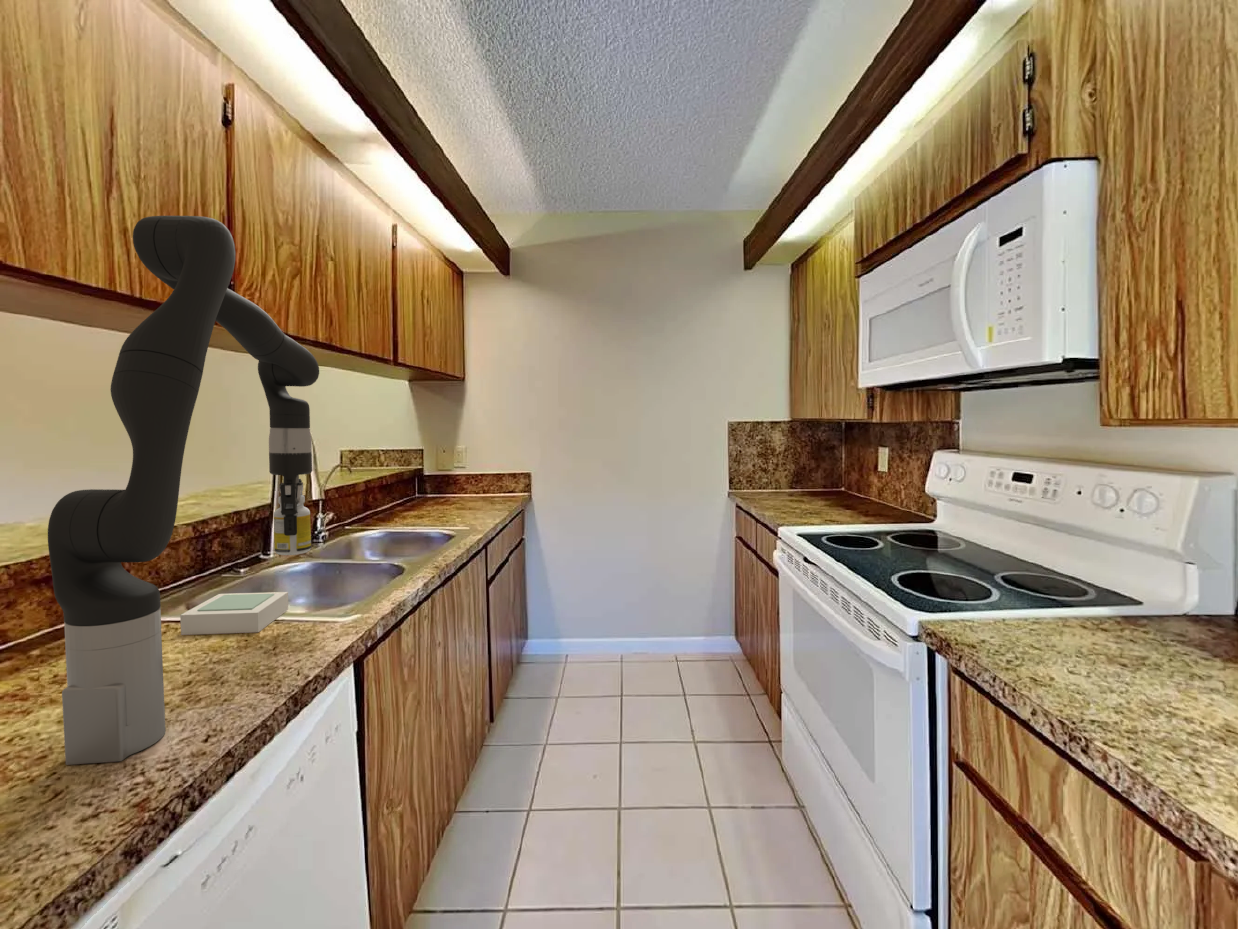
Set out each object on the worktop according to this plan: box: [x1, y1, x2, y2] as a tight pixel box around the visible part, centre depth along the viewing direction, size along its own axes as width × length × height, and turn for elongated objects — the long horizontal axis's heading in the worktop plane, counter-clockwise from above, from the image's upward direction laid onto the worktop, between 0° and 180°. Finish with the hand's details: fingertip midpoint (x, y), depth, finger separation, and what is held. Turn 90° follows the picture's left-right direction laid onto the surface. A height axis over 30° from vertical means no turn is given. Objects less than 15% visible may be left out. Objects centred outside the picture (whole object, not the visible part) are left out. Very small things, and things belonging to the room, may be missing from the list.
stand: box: [179, 591, 289, 636], centre depth 118 cm, size 14×14×4 cm
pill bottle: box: [273, 495, 312, 556], centre depth 115 cm, size 6×6×12 cm
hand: (292, 531), depth 115 cm, fingers closed on pill bottle, 6 cm apart
